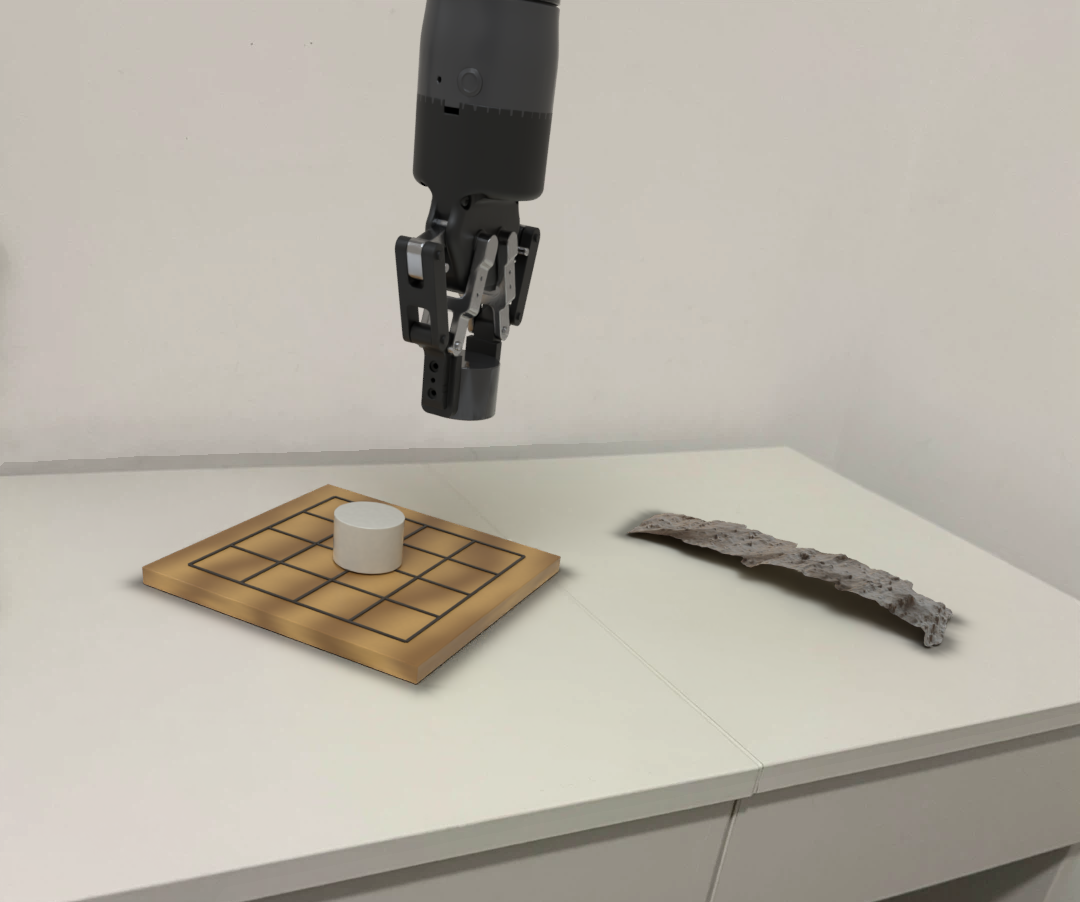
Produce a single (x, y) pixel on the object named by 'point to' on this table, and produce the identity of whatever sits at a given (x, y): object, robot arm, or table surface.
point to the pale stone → (368, 537)
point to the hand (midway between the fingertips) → (459, 404)
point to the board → (357, 583)
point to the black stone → (477, 386)
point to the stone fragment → (808, 567)
